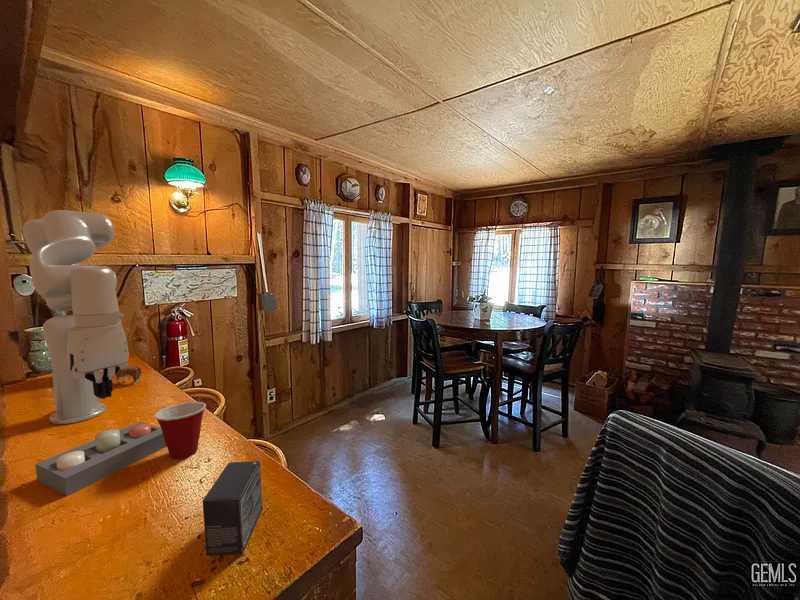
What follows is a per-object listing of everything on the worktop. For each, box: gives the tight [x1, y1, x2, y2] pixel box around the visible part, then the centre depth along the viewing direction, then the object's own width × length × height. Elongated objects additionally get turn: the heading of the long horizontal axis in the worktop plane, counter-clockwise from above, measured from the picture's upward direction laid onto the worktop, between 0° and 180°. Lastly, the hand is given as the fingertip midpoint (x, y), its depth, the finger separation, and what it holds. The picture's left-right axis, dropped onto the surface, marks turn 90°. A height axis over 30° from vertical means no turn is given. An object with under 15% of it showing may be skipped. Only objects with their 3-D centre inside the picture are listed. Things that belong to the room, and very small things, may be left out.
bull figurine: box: [114, 365, 142, 386], centre depth 129 cm, size 4×13×8 cm, turn 79°
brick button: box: [129, 422, 152, 439], centre depth 86 cm, size 4×4×5 cm
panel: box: [35, 421, 167, 497], centre depth 80 cm, size 12×21×4 cm, turn 158°
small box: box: [202, 460, 264, 557], centre depth 60 cm, size 11×6×10 cm, turn 5°
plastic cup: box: [154, 401, 207, 461], centre depth 83 cm, size 11×11×12 cm
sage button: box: [94, 428, 121, 454], centre depth 80 cm, size 4×4×5 cm
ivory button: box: [56, 451, 85, 472], centre depth 73 cm, size 4×4×5 cm
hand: (103, 396), depth 78 cm, fingers closed
